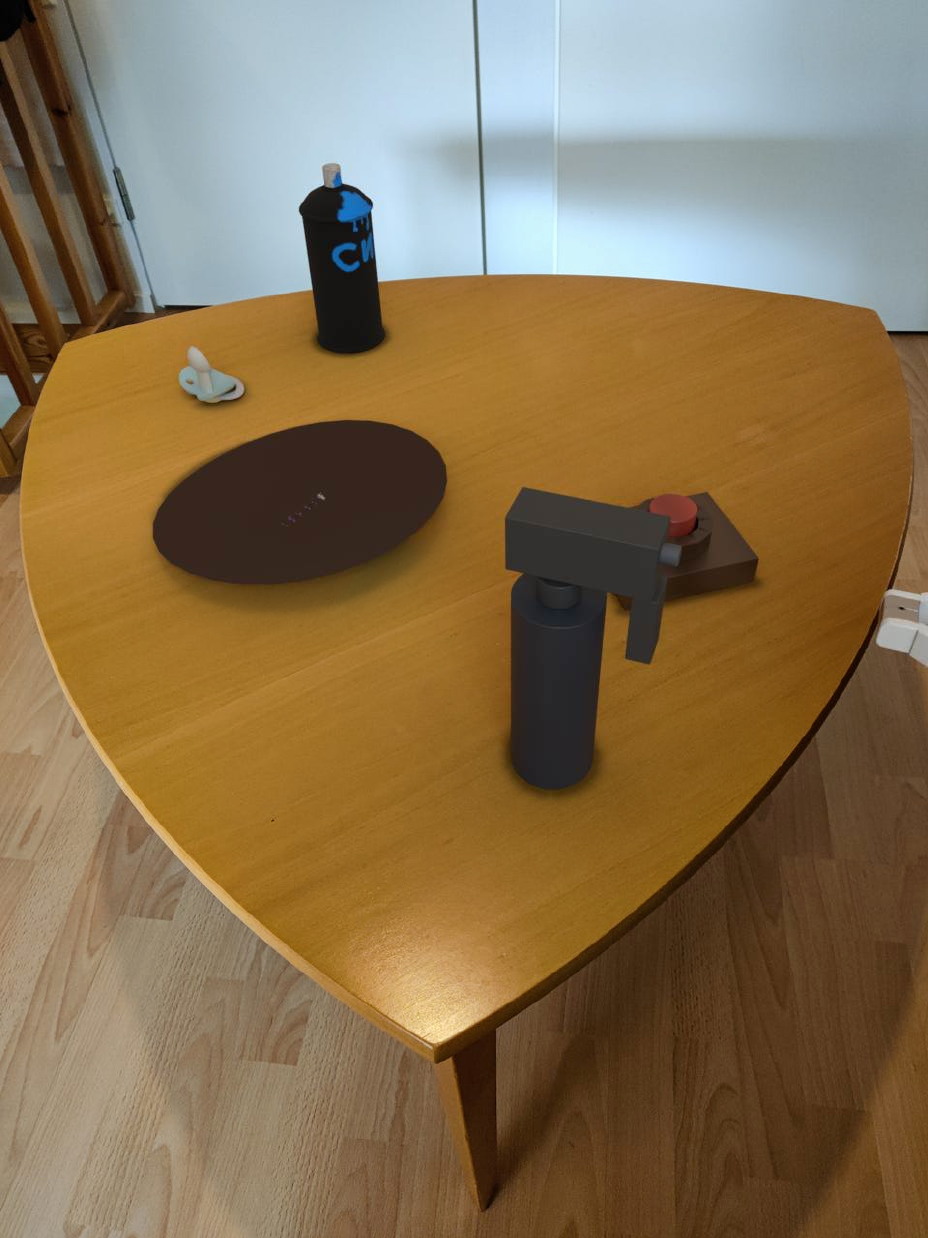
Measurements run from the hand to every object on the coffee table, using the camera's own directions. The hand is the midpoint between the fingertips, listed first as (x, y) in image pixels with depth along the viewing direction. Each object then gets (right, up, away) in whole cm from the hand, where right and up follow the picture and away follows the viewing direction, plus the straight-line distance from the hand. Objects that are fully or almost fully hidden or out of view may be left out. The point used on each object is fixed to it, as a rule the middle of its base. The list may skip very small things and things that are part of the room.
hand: (879, 616), depth 54 cm
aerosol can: (-36, +34, +67) cm, 83 cm away
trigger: (-11, -2, +8) cm, 14 cm away
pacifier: (-50, +25, +58) cm, 81 cm away
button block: (-5, +5, +35) cm, 35 cm away
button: (-5, +8, +32) cm, 33 cm away
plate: (-38, +10, +42) cm, 57 cm away
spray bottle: (-14, -11, +18) cm, 26 cm away
